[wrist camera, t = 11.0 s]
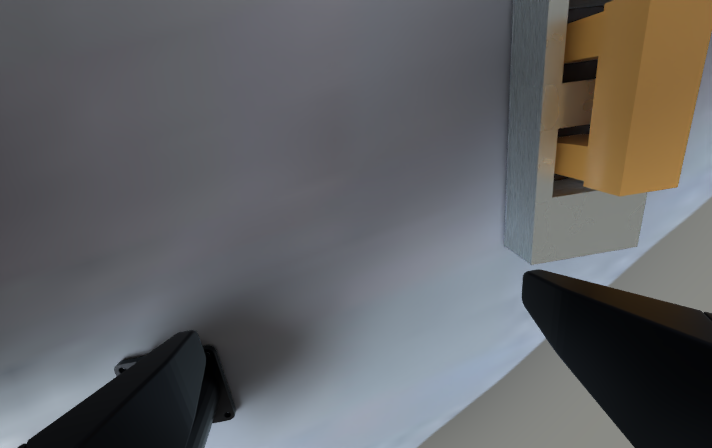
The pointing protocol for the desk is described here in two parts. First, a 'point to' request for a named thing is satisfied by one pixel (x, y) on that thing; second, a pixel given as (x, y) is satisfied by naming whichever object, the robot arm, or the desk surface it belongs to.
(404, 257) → the desk surface
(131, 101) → the desk surface
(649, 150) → the clip
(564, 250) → the rail
